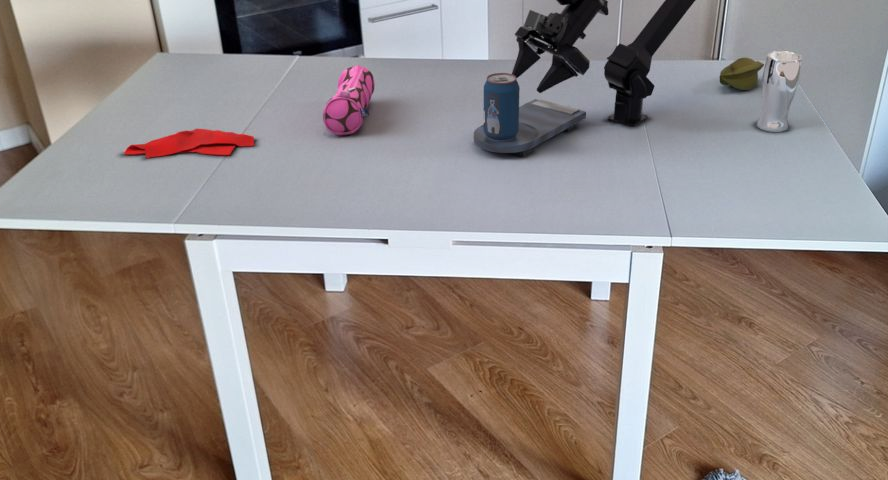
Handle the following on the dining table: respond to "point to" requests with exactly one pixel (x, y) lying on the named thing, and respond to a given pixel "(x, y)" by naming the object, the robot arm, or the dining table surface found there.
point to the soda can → (501, 107)
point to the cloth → (193, 143)
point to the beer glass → (778, 89)
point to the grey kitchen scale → (533, 127)
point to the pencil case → (349, 101)
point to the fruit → (741, 74)
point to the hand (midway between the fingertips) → (525, 84)
